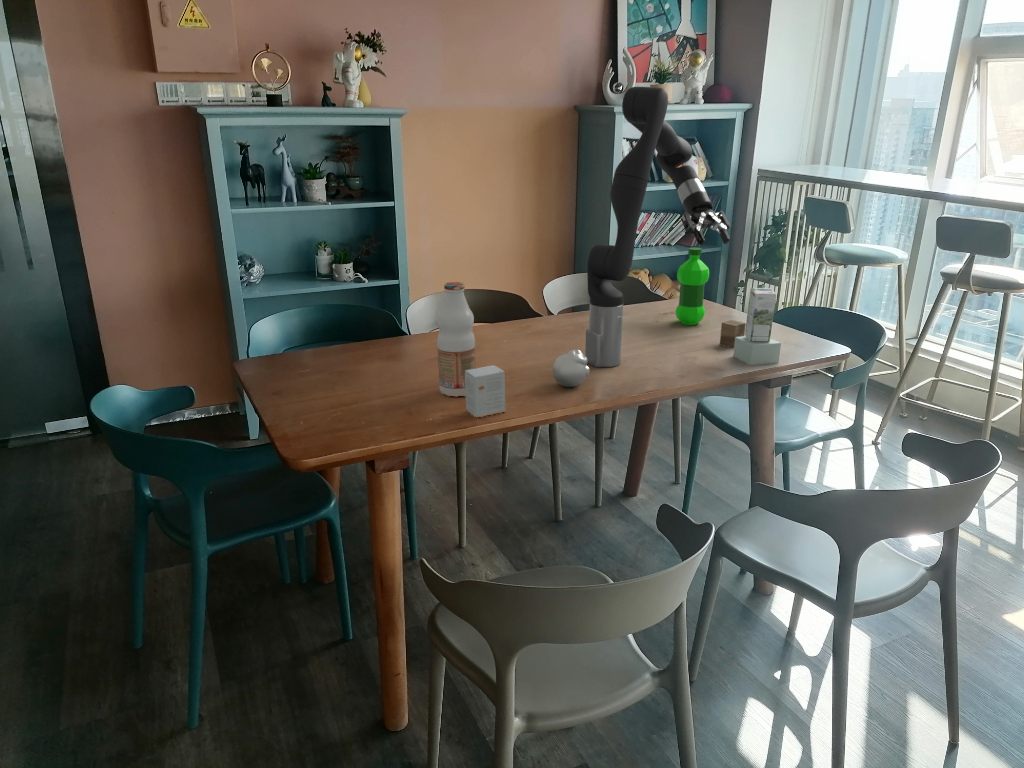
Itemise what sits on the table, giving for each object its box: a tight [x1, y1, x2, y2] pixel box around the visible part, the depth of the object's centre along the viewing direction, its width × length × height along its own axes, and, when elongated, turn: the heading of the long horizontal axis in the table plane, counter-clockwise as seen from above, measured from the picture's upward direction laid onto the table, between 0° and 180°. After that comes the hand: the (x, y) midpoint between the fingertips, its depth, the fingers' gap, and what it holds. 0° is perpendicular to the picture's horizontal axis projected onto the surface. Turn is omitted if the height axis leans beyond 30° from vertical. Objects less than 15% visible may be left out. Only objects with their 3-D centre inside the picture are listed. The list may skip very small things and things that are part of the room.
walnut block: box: [719, 319, 746, 349], centre depth 227 cm, size 5×5×7 cm
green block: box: [733, 335, 782, 366], centre depth 214 cm, size 9×9×6 cm
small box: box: [465, 364, 506, 417], centre depth 176 cm, size 8×6×10 cm
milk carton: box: [744, 287, 777, 342], centre depth 210 cm, size 6×6×14 cm
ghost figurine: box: [552, 348, 591, 388], centre depth 193 cm, size 9×9×10 cm
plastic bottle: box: [674, 247, 710, 326], centre depth 248 cm, size 10×10×25 cm
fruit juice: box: [436, 281, 477, 395], centre depth 187 cm, size 9×9×28 cm
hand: (715, 243), depth 214 cm, fingers open, 8 cm apart
